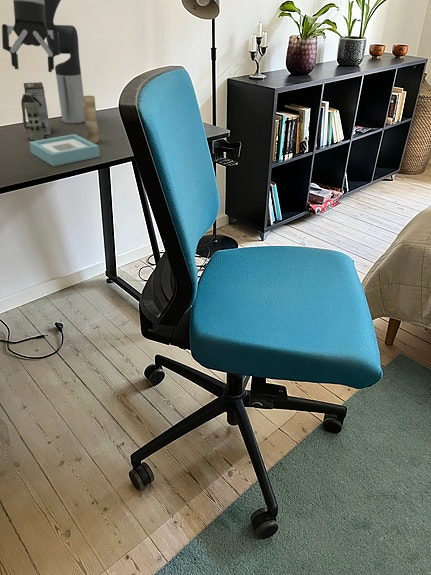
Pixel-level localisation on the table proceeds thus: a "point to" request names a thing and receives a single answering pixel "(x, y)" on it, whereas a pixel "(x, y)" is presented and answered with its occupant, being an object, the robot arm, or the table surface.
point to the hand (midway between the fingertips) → (33, 70)
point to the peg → (90, 119)
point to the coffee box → (40, 96)
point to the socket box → (64, 149)
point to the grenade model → (32, 116)
